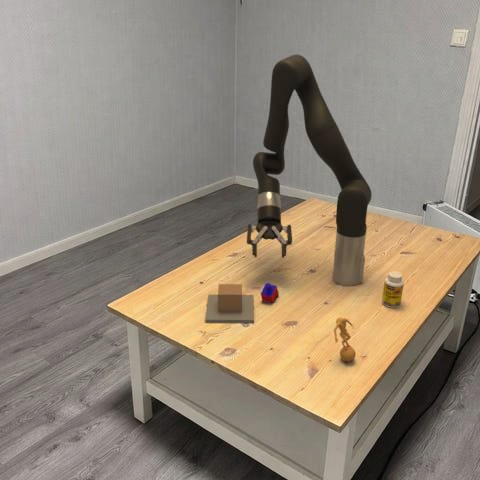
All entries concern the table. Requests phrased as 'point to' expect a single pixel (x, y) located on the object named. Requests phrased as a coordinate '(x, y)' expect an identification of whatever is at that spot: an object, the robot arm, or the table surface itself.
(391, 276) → the supplement bottle
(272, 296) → the toy building block
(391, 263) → the table surface
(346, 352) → the figurine
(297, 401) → the table surface
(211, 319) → the plate
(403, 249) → the table surface
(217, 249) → the table surface
